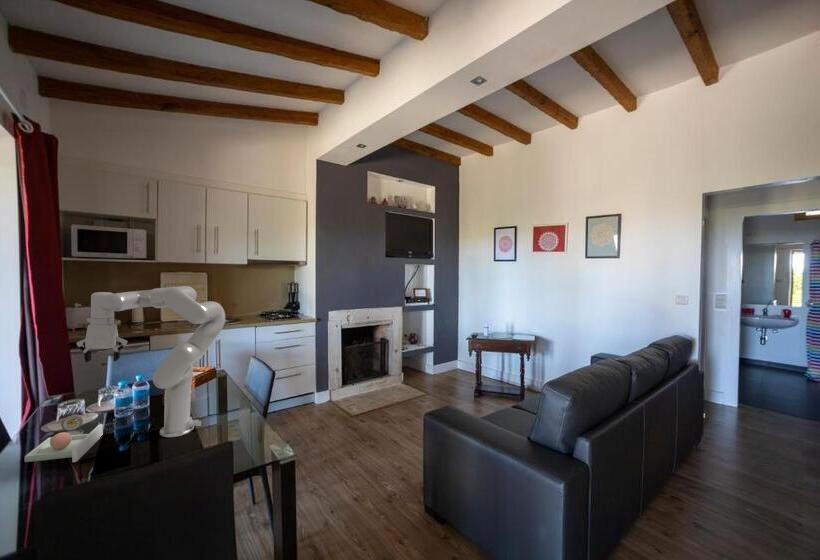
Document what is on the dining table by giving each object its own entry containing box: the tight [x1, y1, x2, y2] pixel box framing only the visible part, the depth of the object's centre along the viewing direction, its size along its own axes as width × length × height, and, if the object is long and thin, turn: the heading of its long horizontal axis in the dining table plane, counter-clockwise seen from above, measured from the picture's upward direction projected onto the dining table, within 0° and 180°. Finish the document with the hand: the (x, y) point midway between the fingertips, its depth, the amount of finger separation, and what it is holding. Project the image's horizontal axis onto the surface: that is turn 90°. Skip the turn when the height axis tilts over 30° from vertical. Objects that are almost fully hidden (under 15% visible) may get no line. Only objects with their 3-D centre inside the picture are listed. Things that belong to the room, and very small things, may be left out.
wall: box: [71, 423, 104, 463], centre depth 139 cm, size 1×20×5 cm, turn 20°
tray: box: [24, 433, 89, 463], centre depth 137 cm, size 14×14×2 cm
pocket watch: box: [61, 408, 84, 435], centre depth 148 cm, size 8×8×10 cm
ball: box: [50, 431, 72, 449], centre depth 137 cm, size 6×6×6 cm
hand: (102, 360), depth 152 cm, fingers open, 9 cm apart
